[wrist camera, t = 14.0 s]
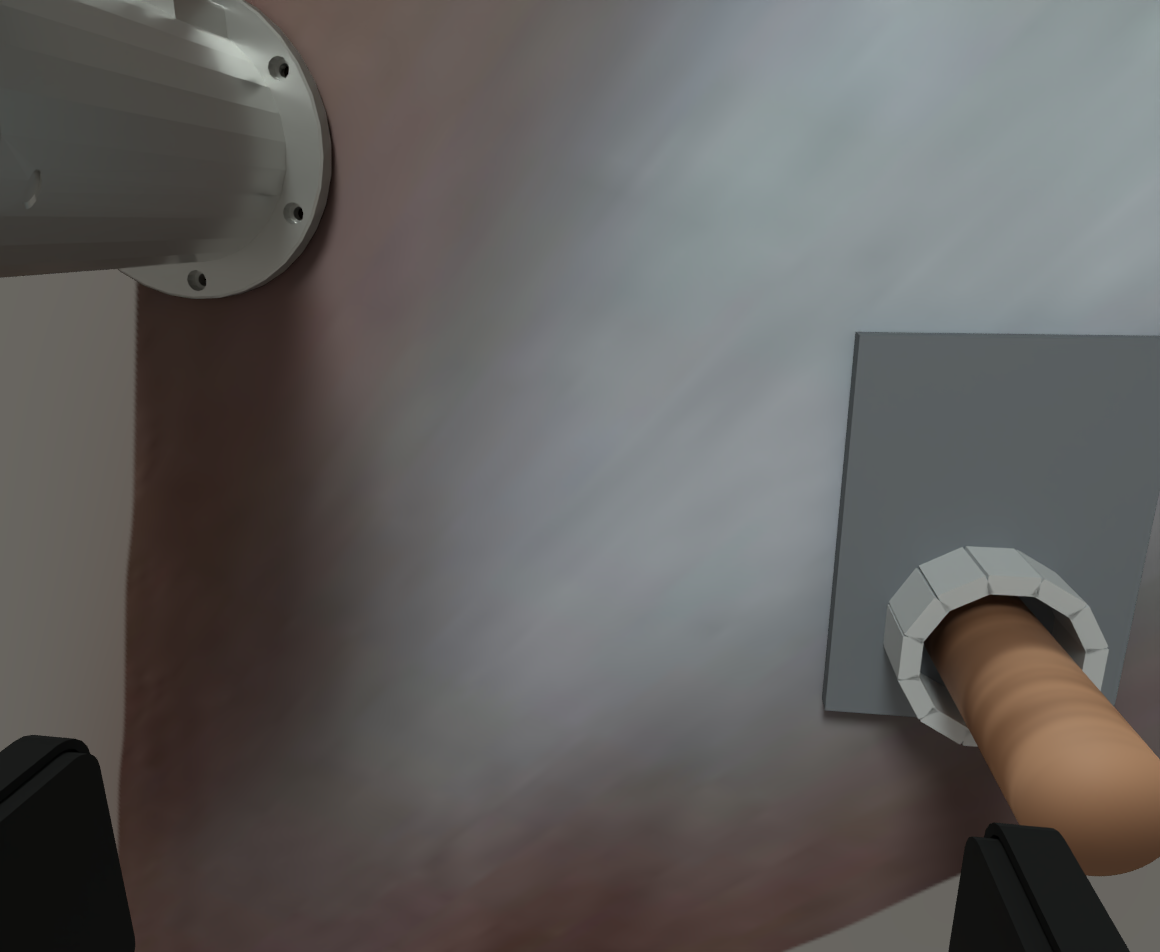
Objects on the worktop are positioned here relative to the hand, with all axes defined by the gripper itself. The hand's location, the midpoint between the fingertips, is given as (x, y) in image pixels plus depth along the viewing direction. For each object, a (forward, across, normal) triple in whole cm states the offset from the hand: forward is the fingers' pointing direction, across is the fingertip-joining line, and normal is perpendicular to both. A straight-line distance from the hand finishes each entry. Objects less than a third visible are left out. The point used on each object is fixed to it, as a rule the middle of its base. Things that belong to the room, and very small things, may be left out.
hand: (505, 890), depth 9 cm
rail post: (+27, -14, +10) cm, 32 cm away
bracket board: (+28, -14, +6) cm, 32 cm away
